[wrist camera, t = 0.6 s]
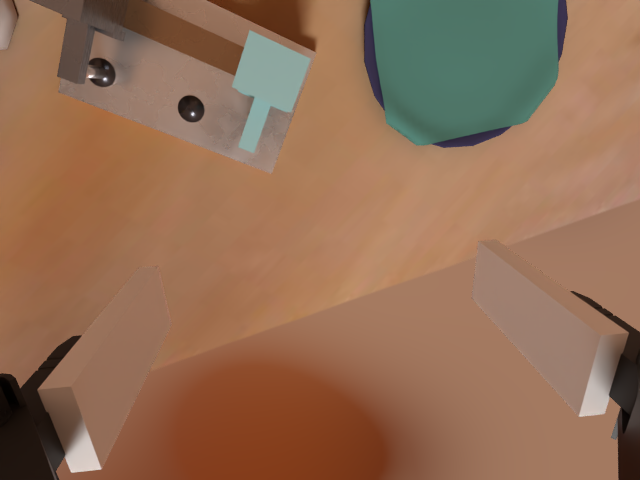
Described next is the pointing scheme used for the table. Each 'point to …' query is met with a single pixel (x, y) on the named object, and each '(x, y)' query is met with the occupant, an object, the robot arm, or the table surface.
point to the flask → (7, 22)
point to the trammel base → (169, 70)
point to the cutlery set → (462, 64)
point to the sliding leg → (267, 82)
